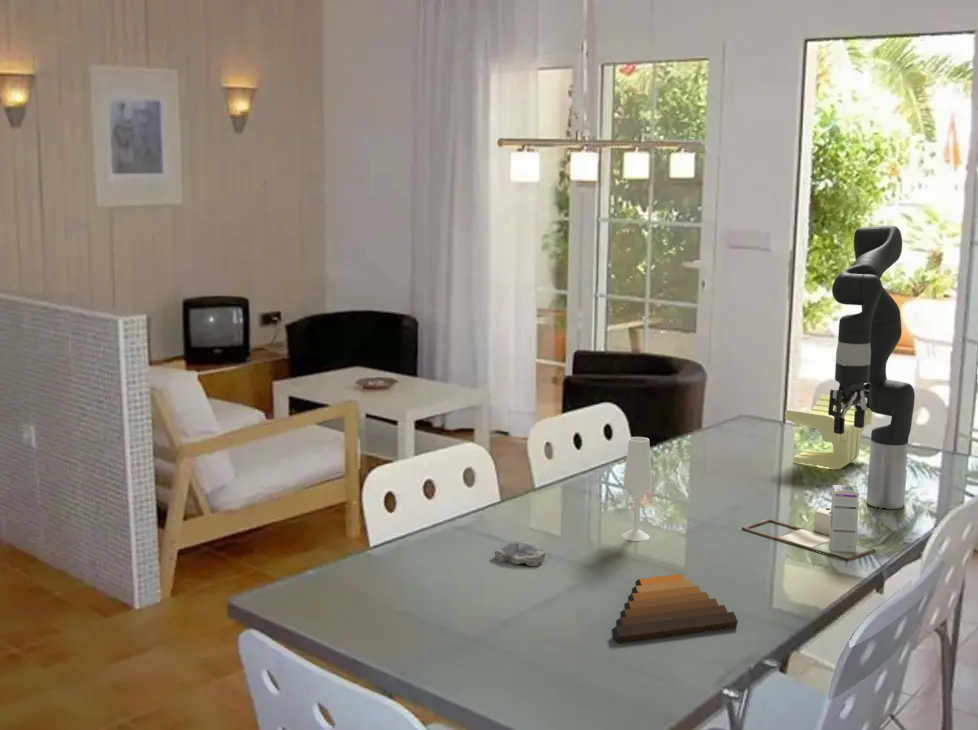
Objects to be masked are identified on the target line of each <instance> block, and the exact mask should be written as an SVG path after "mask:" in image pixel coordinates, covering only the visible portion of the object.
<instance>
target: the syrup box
mask: <svg viewBox="0 0 978 730" xmlns="http://www.w3.org/2000/svg"><path fill="white" fill-rule="evenodd" d="M831 491H832V492H831V506H830V508H831V524H830V535H829V536H830V548H831V551H838V552H851V553H856V544H857V543H858V542H857V540H858V539H857V538H858V525H859V524H858V521H859V520H858V518H859V500H860V499H859V497H860V493H859V489H858V486H856V485H848V484H833V485H832V489H831Z"/></svg>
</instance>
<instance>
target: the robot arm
mask: <svg viewBox="0 0 978 730" xmlns="http://www.w3.org/2000/svg"><path fill="white" fill-rule="evenodd" d="M902 236H903V235H902V233H901V230H900V229H899V227H898V226H895V225H890V224H889V225H873V226H872V225H871V226H870V225H869V226H862V227H861V226H860V227H858V228H857V229H855V231H854V235H853V251H854V257H855V259H854V262H853V263H852V265H851V266H850V267H848V268H846V269H845V270H843V271H841V272H840V273H838V275H837V276H836V277H835V279H834V282H833V284H832V289H831V294H832V296H833V298H834V301H836V302H837V303H839V304H840V305H846V306H847V305H848V306H849V305H850V306H861V312H858V313H853V314H847V315H843V316H841V317H840V319H839V321H838V336H837V337H838V339H837V346H836V350H835V351H836V352H835V353H836V354H835V366H834V367H835V370H834V372H835V374H834V379H835V381H836V382H837V383H838V384H839V387H838V389H833V388H831V389H830V391H829V392H830V393H829V395H830V400H829V411H828V414H829V415H831V416H833V417H834V433H837V434H843V433H844V423H845V418H844V417H845V415H846V412H847V411H848V410H850V408H851V406H854V408H855V410H857V411H855V416H854V426H855V427H858V428H863V427H864V418H865V412H866V411H867V408H870V410H871V411H872V413H874V414H878V415H883V416H888V417H891V419H890V423H888V425H883V426H877V427H875V428H873V429H872V430H871V433H870V434H871V435H870V448H869V449H870V450H869V451H870V452H869V460H868V461H869V462H868V464H869V465H868V475H867V476H868V477H867V491H866V501H865V502H866V504H867V503H868V504H869V506H870V505H871V506H870V507H873V506H874V507H873V508H877V507H879V508H878V509H882V508H886V509H885V510H897V509H902V508H903V506H904V504H905V497H906V496H905V495H906V483H907V474H908V473H907V471H908V470H907V462H908V461H907V460H908V450H909V449H908V448H909V447H908V446H909V437H910V434H911V429H912V422H913V416H914V415H913V414H914V407H915V394H916V393H915V390H914V387H913V386H912V384H910V383H908V382H905V381H904V382H903V381H897V380H892V379H888V378H887V363H888V360H889V358H890V356H891V355H892V353H893V352H894V350H895V349H896V347H897V345H898V343H899V342H900V340H901V337H902V331H903V330H902V317H901V310H900V307H899V305H898V304H897V302H896V301H895V299H894V298H893V297H892V295H890V293H889V292H888V291H887V289H885V288H884V287H883V283H882V281H881V277H882V276H883V274H884V273H885V272H886V271H887V270H888V269H890V267H892V266H893V265H894V264H896V263H897V261H898V260H899V259H900V257H901V255H902V252H903V237H902ZM866 401H867V402H866ZM834 406H835V409H834V411H833V407H834ZM841 409H843V410H842V412H841ZM868 504H867V505H868Z"/></svg>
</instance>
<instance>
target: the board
mask: <svg viewBox="0 0 978 730" xmlns="http://www.w3.org/2000/svg"><path fill="white" fill-rule="evenodd" d="M767 523H773V524H777V525H781V526H785V527H788V528H791V529H793V530H792V531H790V532H785V533H783V534H781V535H778V536H775V535H772V534H768V533H765V532H762V531H758V530H755V529H752V528H754V527H758V526H761V525H764V524H767ZM794 529H795V530H794ZM741 530H743V531H745V532H749V533H753V534H756V535H758V536H762V537H765V538H768V539H772V540H776V541H780V542H783V543H786V544H789V545H791V546H792V545H793V546H795V547H798V548H802V549H805V548H806V550H808V549H810V550H809V551H812V550H814V551H813V552H815V551H818V552H821V553H820V554H822V553H824V554H823V555H825V554H826V556H828V555H829V557H833V558H835V559H839V560H842V561H846V562H850V561H852V560H856V559H859V558H861V557H863V556H866V555H868V554H870V553H873V552H875V551H876V550H875V548H873V547H871V546H870V547H869V546H866V545H863V544H859V543H856V553H851V552H838V551H831V548H830V535H827V534H824V533H821V532H817V531H814V530H811V529H806V528H803V527H800V526H796V525H792V524H789V523H787V522H786V523H785V522H782V521H778V520H775V519H772V518H768V519H764V520H761V521H759V522H754V523H752V524H749V525H746V526H743V527H741ZM818 552H817V553H818Z"/></svg>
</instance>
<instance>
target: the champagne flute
mask: <svg viewBox="0 0 978 730" xmlns="http://www.w3.org/2000/svg"><path fill="white" fill-rule="evenodd" d="M627 445H628V446H627V454H626V459H625V461H626V462H625V469H624V477H623V486H624V489H625V490H626V491H627V493H628V494H629V495H630V496H631V497H633V498H634V507H633V508H634V509H633V528H632V529H630V530H628V531H626V532H625V533H622V535H621V538H623V539H624V540H627V541H631V542H643V541H647V540H649V539H650V538H651V537H650V535H649V534H647V533H646V532H645V531H642V530H641V529H639V524H640V523H639V521H640V519H639V518H640V498H642V497H644V496H645V495H646V494H647V493H648V492H649V491H650V489H651V488H652V485H653V482H652V465H651V447H650V445H651V444H650V439H649V438H648V437H644V436H632V437H629V438H628V444H627Z"/></svg>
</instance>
